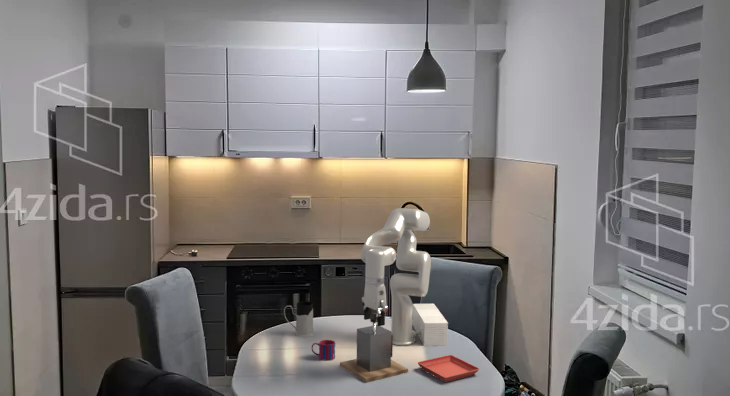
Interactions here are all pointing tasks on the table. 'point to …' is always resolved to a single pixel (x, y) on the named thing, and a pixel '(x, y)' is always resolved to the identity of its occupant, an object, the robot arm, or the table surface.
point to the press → (374, 348)
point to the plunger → (373, 319)
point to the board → (374, 375)
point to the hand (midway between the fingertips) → (374, 322)
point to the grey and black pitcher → (303, 319)
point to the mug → (326, 350)
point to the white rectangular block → (430, 325)
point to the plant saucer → (448, 368)
